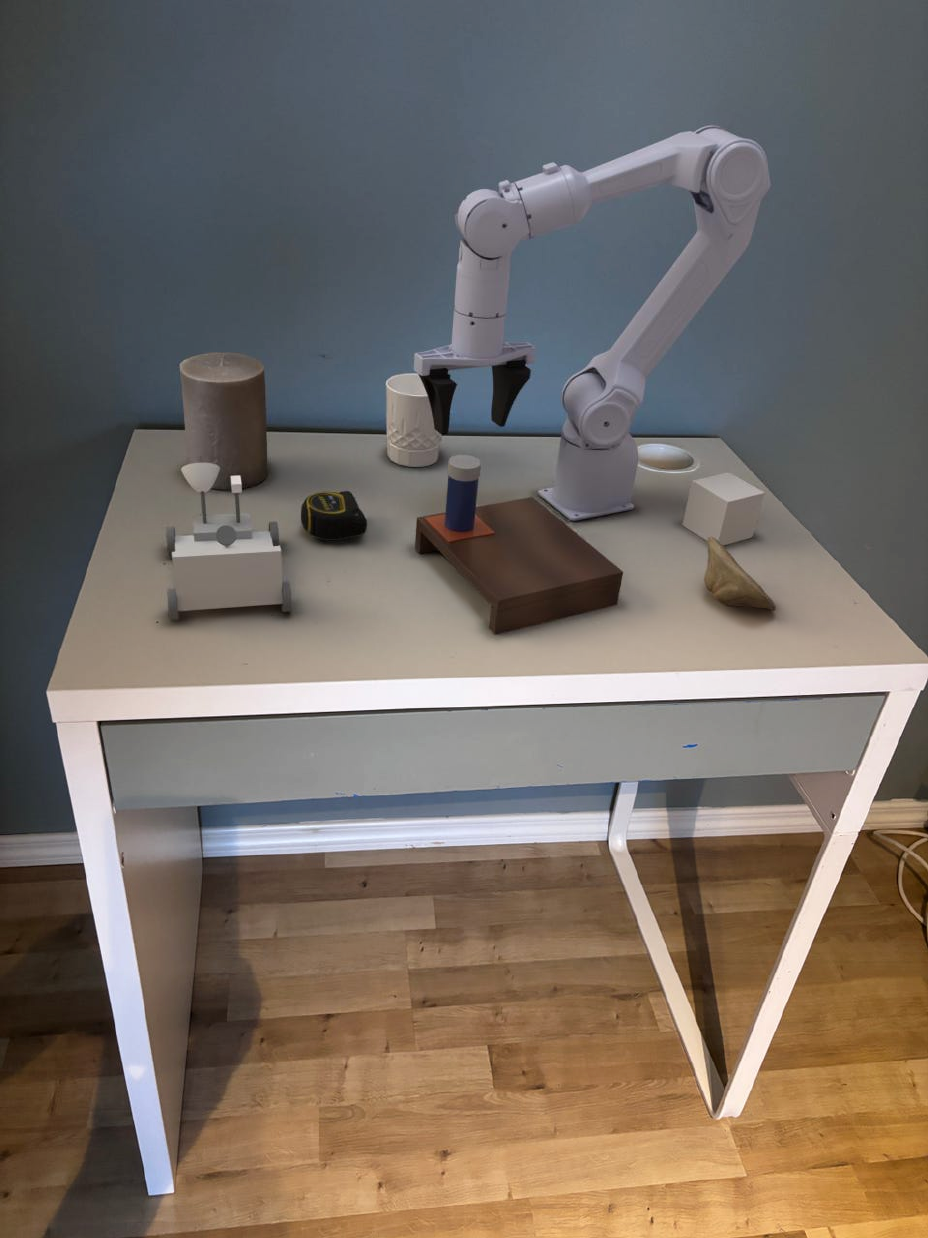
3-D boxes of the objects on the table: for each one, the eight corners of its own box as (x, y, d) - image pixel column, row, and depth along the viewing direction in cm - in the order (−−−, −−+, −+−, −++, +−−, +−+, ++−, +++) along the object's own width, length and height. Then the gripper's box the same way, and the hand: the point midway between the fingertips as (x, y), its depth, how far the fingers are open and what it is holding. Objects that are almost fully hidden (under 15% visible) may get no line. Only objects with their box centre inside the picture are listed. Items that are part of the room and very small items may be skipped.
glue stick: (465, 515, 109) (471, 452, 105) (480, 529, 106) (486, 465, 102) (438, 520, 107) (442, 457, 103) (452, 534, 105) (458, 470, 101)
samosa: (764, 585, 98) (702, 522, 104) (731, 614, 99) (671, 551, 104) (786, 612, 105) (727, 552, 111) (755, 639, 106) (698, 579, 112)
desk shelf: (528, 526, 117) (532, 494, 114) (617, 604, 104) (624, 570, 101) (414, 548, 110) (416, 515, 108) (494, 634, 97) (498, 598, 95)
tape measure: (367, 543, 110) (368, 514, 108) (306, 548, 108) (306, 518, 106) (354, 515, 116) (355, 486, 113) (296, 519, 113) (295, 490, 111)
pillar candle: (272, 458, 126) (269, 343, 118) (262, 493, 118) (258, 372, 110) (195, 454, 126) (186, 338, 117) (180, 488, 118) (169, 366, 109)
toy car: (159, 452, 103) (271, 448, 106) (168, 534, 108) (274, 529, 111) (160, 536, 89) (290, 529, 91) (170, 626, 94) (292, 617, 97)
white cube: (682, 525, 120) (692, 480, 117) (717, 515, 123) (728, 471, 120) (716, 547, 116) (728, 501, 113) (752, 537, 119) (764, 492, 116)
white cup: (389, 441, 134) (392, 370, 128) (447, 448, 133) (452, 377, 128) (377, 465, 127) (380, 391, 122) (437, 473, 127) (442, 399, 121)
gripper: (518, 295, 113) (505, 407, 121) (404, 304, 107) (398, 421, 114) (550, 314, 108) (536, 429, 116) (433, 324, 102) (425, 445, 109)
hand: (469, 427), depth 115 cm, fingers open, 7 cm apart
